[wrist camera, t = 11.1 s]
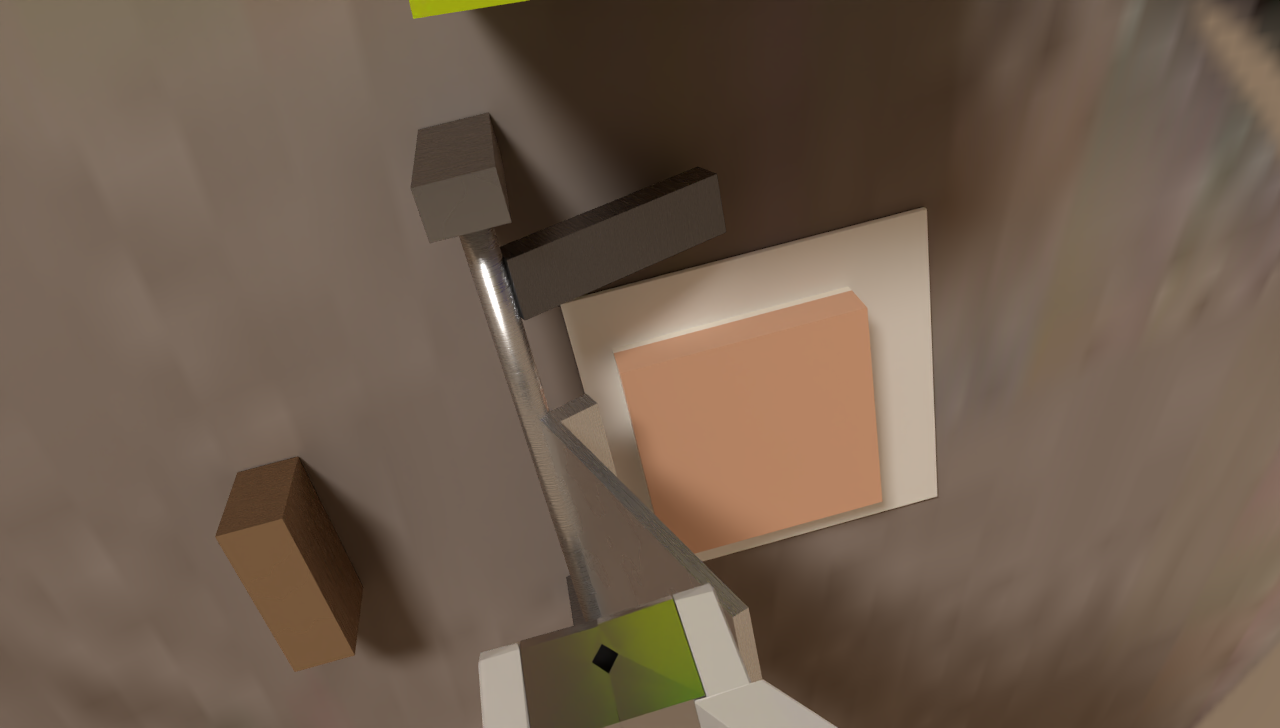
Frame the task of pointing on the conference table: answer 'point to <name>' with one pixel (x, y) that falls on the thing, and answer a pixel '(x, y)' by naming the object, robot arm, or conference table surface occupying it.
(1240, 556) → the conference table surface
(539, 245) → the flipper
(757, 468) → the tile
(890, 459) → the mat
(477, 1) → the puzzle toy
